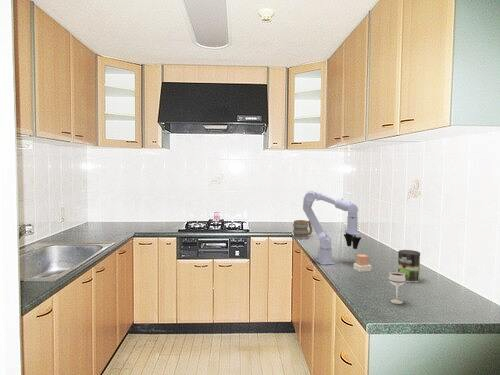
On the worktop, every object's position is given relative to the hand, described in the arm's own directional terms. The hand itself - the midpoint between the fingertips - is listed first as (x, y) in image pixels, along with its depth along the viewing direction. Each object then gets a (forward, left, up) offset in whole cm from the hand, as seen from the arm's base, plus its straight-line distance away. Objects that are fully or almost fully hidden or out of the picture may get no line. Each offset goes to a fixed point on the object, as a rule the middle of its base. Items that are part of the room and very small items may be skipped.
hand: (352, 247), depth 220 cm
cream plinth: (+12, 0, -10) cm, 16 cm away
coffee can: (+34, +14, -10) cm, 38 cm away
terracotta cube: (+12, 0, -7) cm, 14 cm away
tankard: (-86, +1, -10) cm, 87 cm away
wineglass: (+61, -10, -10) cm, 63 cm away
